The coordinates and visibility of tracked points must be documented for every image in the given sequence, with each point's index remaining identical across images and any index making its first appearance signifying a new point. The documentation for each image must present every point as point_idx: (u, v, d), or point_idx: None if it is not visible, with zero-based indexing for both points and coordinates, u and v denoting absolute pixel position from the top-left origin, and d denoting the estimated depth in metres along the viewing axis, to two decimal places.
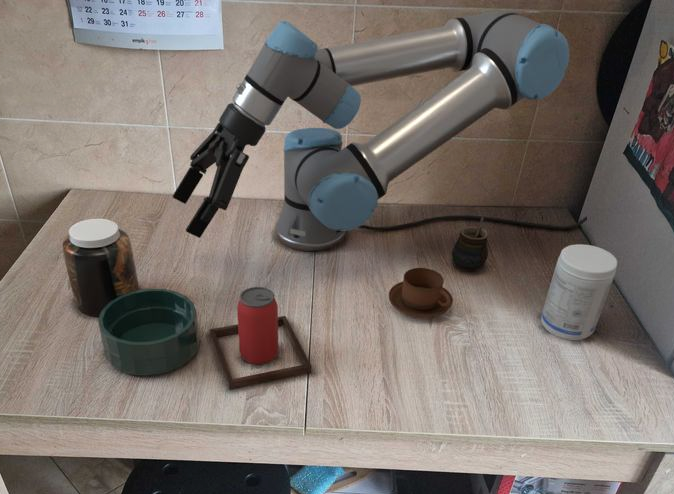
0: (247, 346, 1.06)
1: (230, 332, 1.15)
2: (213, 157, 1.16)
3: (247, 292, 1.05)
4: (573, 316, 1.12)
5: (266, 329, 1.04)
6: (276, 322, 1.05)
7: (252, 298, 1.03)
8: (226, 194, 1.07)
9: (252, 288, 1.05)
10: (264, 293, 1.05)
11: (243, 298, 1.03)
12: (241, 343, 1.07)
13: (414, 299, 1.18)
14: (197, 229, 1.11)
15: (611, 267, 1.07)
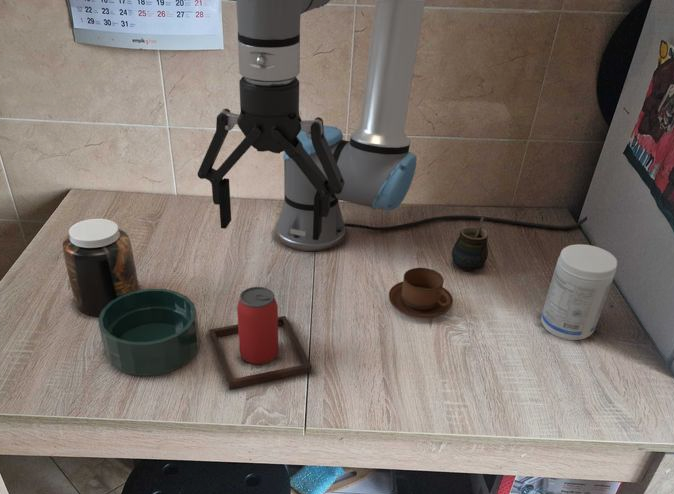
0: (247, 346, 1.06)
1: (230, 332, 1.15)
2: None
3: (247, 292, 1.05)
4: (573, 316, 1.12)
5: (266, 329, 1.04)
6: (276, 322, 1.05)
7: (252, 298, 1.03)
8: (337, 172, 0.86)
9: (252, 288, 1.05)
10: (264, 293, 1.05)
11: (243, 298, 1.03)
12: (241, 343, 1.07)
13: (414, 299, 1.18)
14: (320, 227, 0.92)
15: (611, 267, 1.07)
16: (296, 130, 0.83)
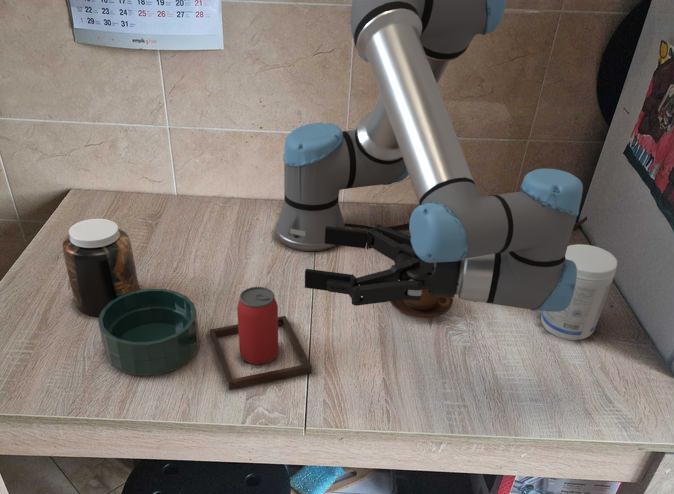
0: (247, 346, 1.06)
1: (230, 332, 1.15)
2: None
3: (247, 292, 1.05)
4: (573, 316, 1.12)
5: (266, 329, 1.04)
6: (276, 322, 1.05)
7: (252, 298, 1.03)
8: None
9: (252, 288, 1.05)
10: (264, 293, 1.05)
11: (243, 298, 1.03)
12: (241, 343, 1.07)
13: None
14: None
15: (611, 267, 1.07)
16: None
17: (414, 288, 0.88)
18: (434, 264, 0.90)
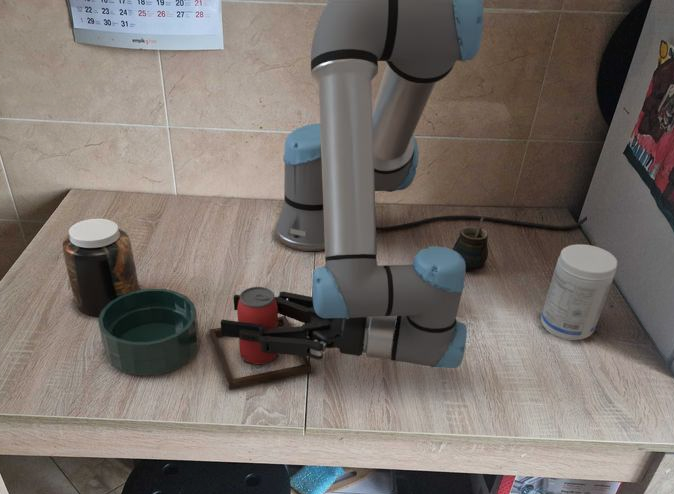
0: (247, 346, 1.06)
1: None
2: None
3: (247, 292, 1.05)
4: (573, 316, 1.12)
5: None
6: (276, 322, 1.05)
7: (252, 298, 1.03)
8: None
9: (252, 288, 1.05)
10: (264, 293, 1.05)
11: (243, 298, 1.03)
12: (241, 343, 1.07)
13: None
14: None
15: (611, 267, 1.07)
16: None
17: (314, 348, 0.99)
18: (342, 328, 1.01)
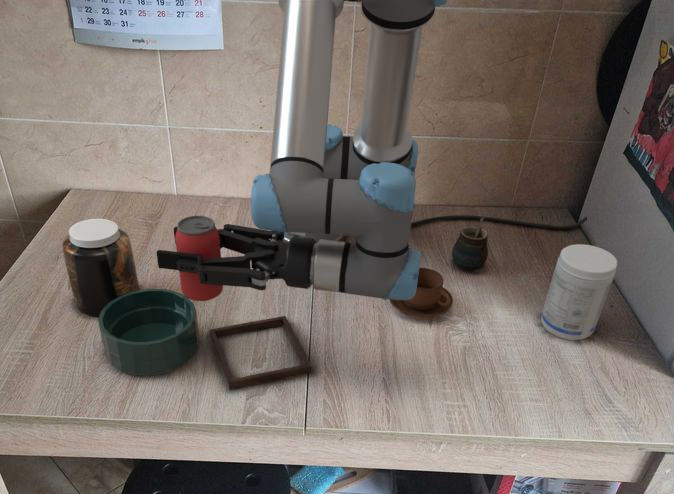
0: (187, 281, 0.99)
1: (230, 332, 1.15)
2: None
3: (186, 221, 0.97)
4: (573, 316, 1.12)
5: None
6: (217, 254, 0.98)
7: (190, 226, 0.96)
8: None
9: (191, 217, 0.98)
10: (204, 222, 0.97)
11: (181, 226, 0.96)
12: (181, 278, 1.00)
13: (414, 299, 1.18)
14: None
15: (611, 267, 1.07)
16: None
17: (256, 277, 0.92)
18: (286, 256, 0.93)
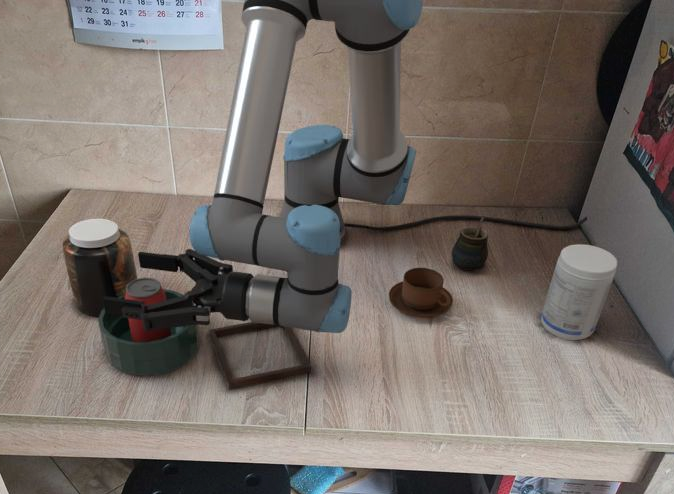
0: (136, 337, 1.07)
1: (230, 332, 1.15)
2: None
3: (135, 283, 1.05)
4: (573, 316, 1.12)
5: None
6: None
7: (138, 289, 1.04)
8: None
9: (140, 279, 1.06)
10: (152, 284, 1.05)
11: (129, 289, 1.04)
12: (132, 334, 1.08)
13: (414, 299, 1.18)
14: None
15: (611, 267, 1.07)
16: None
17: (200, 314, 0.96)
18: (222, 291, 0.98)
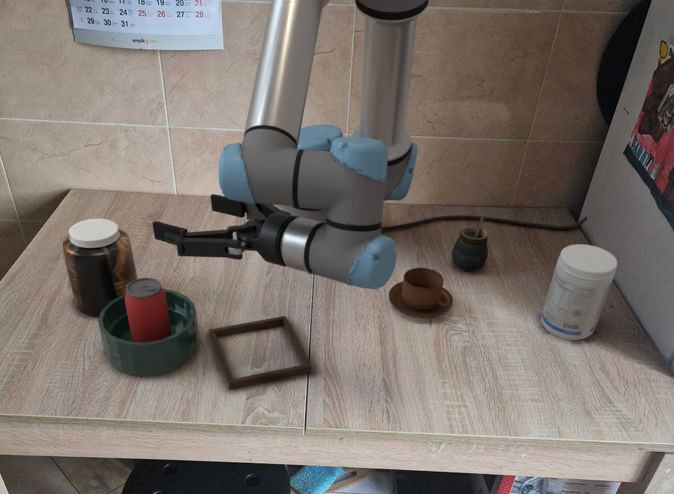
0: (136, 337, 1.07)
1: (230, 332, 1.15)
2: None
3: (135, 283, 1.05)
4: (573, 316, 1.12)
5: (153, 320, 1.04)
6: (164, 313, 1.06)
7: (138, 289, 1.04)
8: None
9: (140, 279, 1.06)
10: (152, 284, 1.05)
11: (129, 289, 1.04)
12: (132, 334, 1.08)
13: (414, 299, 1.18)
14: None
15: (611, 267, 1.07)
16: None
17: (232, 246, 0.92)
18: (261, 228, 0.93)
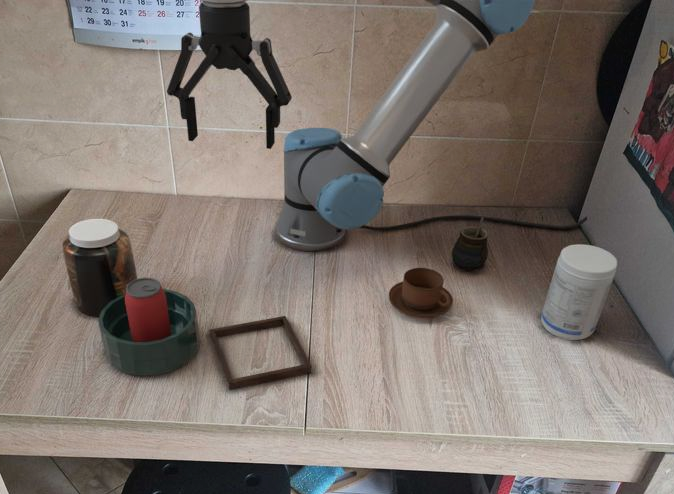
0: (136, 337, 1.07)
1: (230, 332, 1.15)
2: (205, 72, 1.03)
3: (135, 283, 1.05)
4: (573, 316, 1.12)
5: (153, 320, 1.04)
6: (164, 313, 1.06)
7: (138, 289, 1.04)
8: (285, 87, 1.02)
9: (140, 279, 1.06)
10: (152, 284, 1.05)
11: (129, 289, 1.04)
12: (132, 334, 1.08)
13: (414, 299, 1.18)
14: (272, 138, 1.08)
15: (611, 267, 1.07)
16: (248, 48, 0.99)
17: None
18: None
